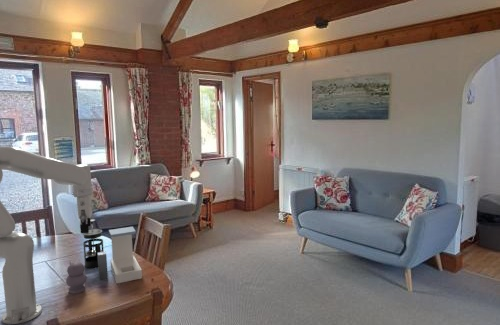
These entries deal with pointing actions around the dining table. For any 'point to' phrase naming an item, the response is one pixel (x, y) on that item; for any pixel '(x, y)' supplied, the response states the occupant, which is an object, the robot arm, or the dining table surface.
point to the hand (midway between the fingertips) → (85, 229)
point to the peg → (102, 266)
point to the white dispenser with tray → (124, 256)
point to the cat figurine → (76, 277)
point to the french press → (92, 255)
